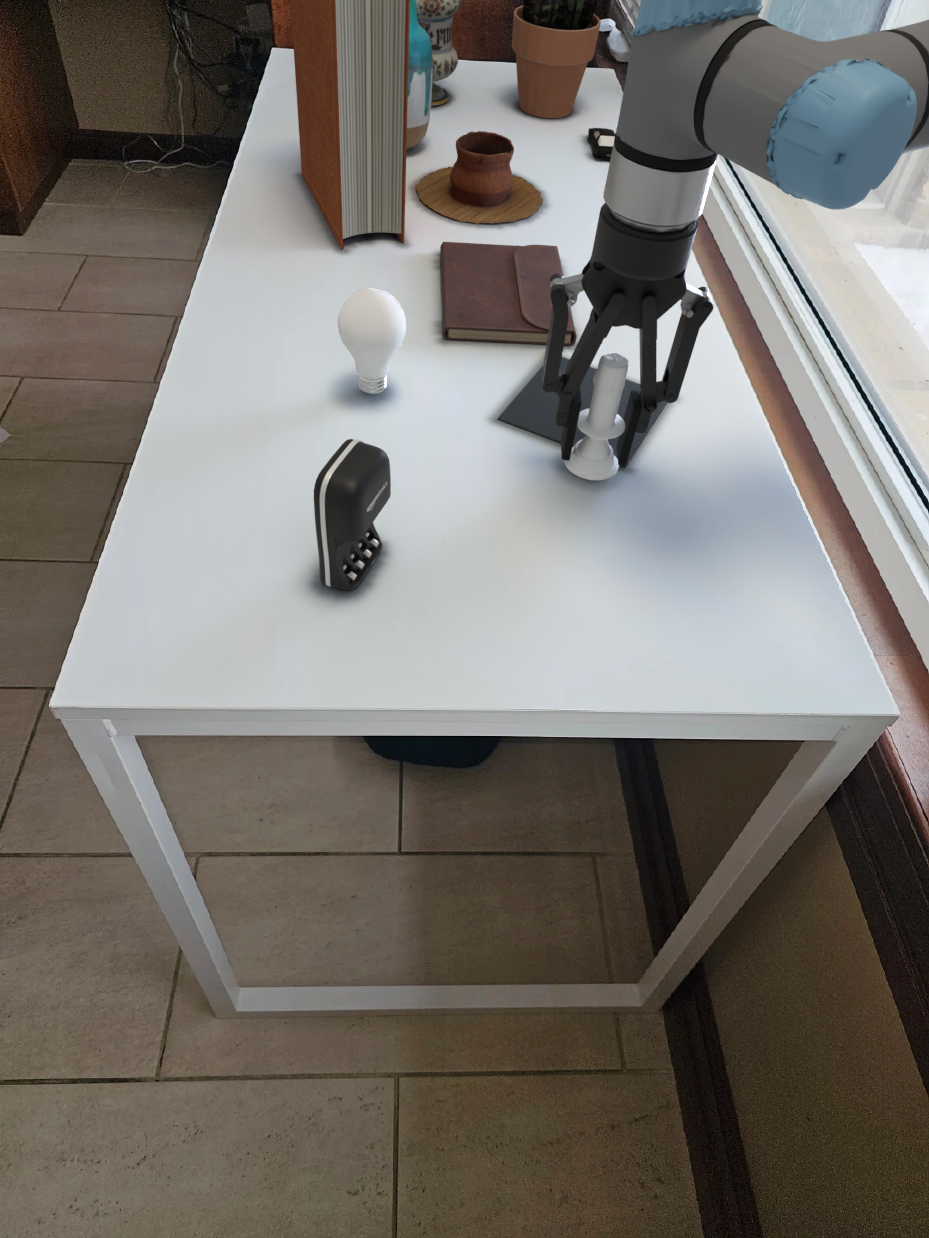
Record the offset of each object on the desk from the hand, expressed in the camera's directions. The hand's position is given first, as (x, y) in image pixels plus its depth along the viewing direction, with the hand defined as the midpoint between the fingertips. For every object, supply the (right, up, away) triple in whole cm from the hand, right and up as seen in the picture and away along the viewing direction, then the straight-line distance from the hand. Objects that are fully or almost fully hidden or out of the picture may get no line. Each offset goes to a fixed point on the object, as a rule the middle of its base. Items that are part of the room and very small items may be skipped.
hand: (593, 453), depth 83 cm
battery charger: (-22, -12, -10) cm, 26 cm away
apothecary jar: (-20, +71, +61) cm, 96 cm away
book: (-28, +39, +33) cm, 59 cm away
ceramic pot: (-10, +43, +38) cm, 59 cm away
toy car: (+9, +58, +52) cm, 78 cm away
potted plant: (+1, +69, +62) cm, 93 cm away
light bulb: (-22, +7, +6) cm, 24 cm away
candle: (0, -1, +1) cm, 1 cm away
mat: (0, +6, +7) cm, 10 cm away
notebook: (-8, +23, +21) cm, 32 cm away
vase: (-23, +55, +47) cm, 76 cm away
